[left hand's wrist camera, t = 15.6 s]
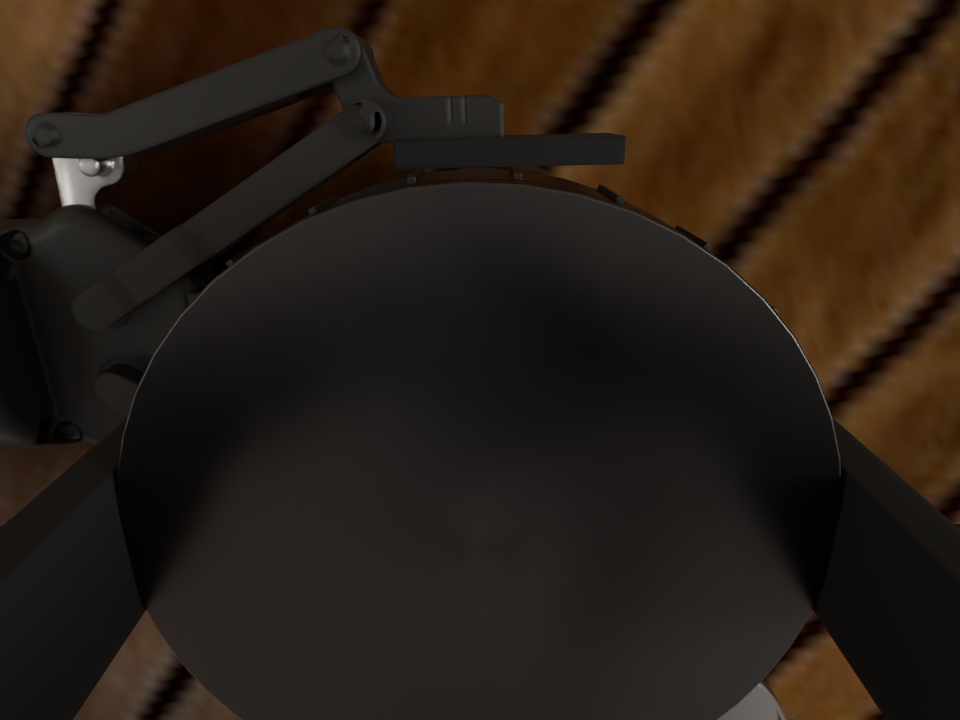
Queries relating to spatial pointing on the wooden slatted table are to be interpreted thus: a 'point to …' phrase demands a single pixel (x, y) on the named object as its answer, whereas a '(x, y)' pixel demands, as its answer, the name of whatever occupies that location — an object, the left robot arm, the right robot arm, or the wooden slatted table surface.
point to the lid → (479, 464)
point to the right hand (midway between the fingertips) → (607, 321)
